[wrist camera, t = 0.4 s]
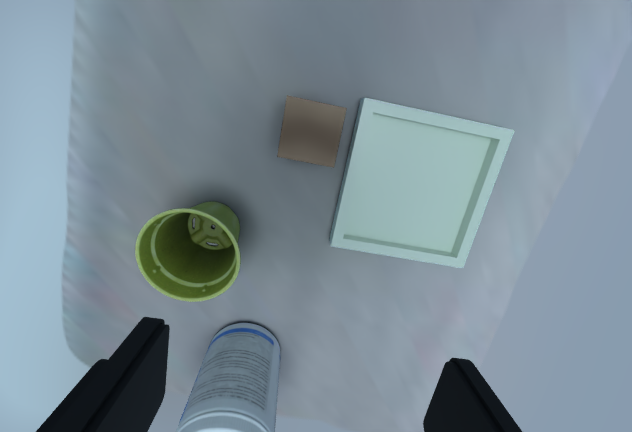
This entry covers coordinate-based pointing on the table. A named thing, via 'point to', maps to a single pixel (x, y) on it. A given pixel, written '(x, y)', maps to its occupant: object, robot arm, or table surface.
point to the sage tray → (416, 183)
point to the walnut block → (311, 131)
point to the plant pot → (190, 251)
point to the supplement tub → (235, 383)
